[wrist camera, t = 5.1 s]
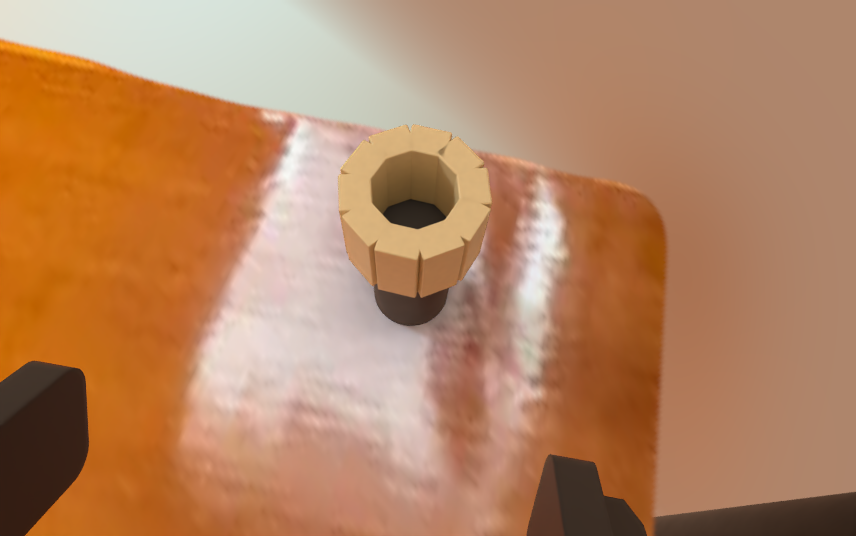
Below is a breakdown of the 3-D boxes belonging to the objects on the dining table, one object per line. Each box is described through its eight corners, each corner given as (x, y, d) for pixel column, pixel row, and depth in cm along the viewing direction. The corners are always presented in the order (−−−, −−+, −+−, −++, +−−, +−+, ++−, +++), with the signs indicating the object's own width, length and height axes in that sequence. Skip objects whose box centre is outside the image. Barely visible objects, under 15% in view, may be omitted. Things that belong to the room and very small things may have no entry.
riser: (415, 245, 36) (418, 180, 30) (462, 296, 35) (475, 239, 29) (359, 287, 35) (350, 228, 29) (406, 340, 34) (407, 292, 28)
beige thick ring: (419, 154, 31) (422, 100, 27) (508, 243, 29) (523, 199, 25) (318, 224, 29) (306, 177, 25) (405, 325, 27) (406, 289, 23)
